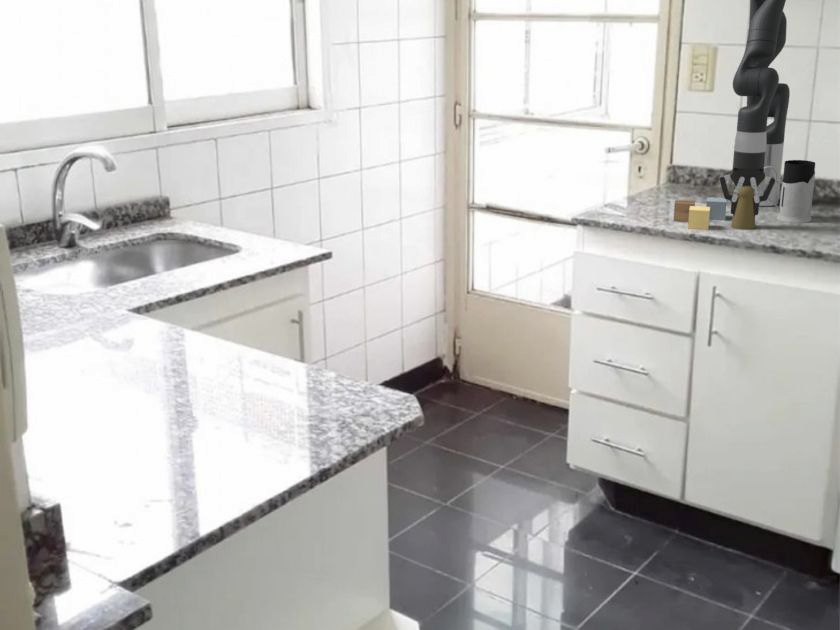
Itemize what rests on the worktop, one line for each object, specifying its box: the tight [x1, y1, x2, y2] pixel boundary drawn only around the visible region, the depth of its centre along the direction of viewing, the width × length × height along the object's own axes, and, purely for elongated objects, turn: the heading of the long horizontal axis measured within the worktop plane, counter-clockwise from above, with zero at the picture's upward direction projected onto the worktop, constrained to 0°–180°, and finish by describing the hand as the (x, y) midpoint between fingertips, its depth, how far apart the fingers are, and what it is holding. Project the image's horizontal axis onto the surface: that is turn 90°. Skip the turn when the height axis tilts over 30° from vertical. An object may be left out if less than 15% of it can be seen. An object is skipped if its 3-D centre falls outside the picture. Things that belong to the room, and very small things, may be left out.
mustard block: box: [687, 205, 710, 231], centre depth 255 cm, size 5×5×5 cm
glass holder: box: [759, 159, 816, 224], centre depth 261 cm, size 9×14×15 cm, turn 77°
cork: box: [730, 185, 756, 230], centre depth 254 cm, size 6×6×11 cm
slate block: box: [705, 197, 728, 221], centre depth 265 cm, size 5×5×5 cm
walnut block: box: [673, 198, 696, 223], centre depth 264 cm, size 5×5×5 cm
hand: (744, 216), depth 255 cm, fingers closed on cork, 4 cm apart
